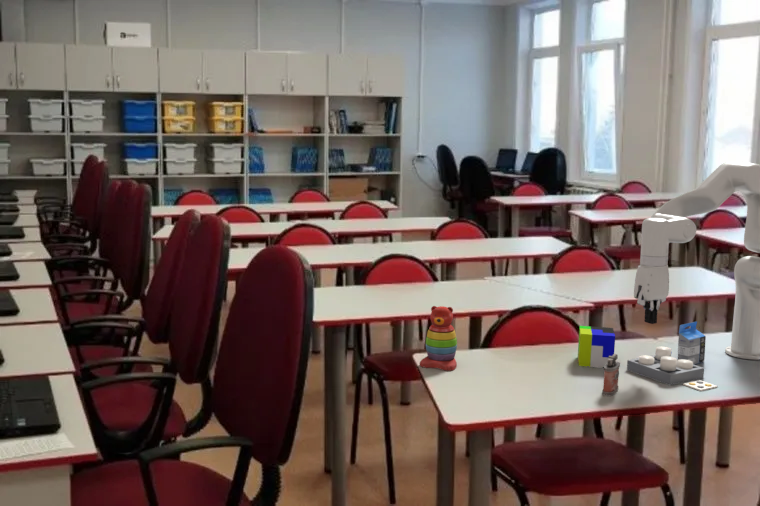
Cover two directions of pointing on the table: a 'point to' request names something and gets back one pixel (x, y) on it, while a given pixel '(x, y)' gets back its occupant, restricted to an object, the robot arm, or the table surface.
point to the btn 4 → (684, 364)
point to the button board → (665, 372)
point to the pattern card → (700, 385)
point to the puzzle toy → (595, 345)
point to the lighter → (611, 376)
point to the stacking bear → (441, 340)
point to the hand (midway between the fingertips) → (650, 322)
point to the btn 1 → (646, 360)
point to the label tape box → (691, 343)
